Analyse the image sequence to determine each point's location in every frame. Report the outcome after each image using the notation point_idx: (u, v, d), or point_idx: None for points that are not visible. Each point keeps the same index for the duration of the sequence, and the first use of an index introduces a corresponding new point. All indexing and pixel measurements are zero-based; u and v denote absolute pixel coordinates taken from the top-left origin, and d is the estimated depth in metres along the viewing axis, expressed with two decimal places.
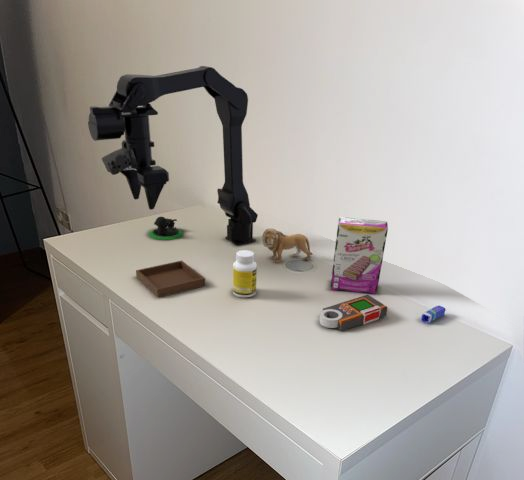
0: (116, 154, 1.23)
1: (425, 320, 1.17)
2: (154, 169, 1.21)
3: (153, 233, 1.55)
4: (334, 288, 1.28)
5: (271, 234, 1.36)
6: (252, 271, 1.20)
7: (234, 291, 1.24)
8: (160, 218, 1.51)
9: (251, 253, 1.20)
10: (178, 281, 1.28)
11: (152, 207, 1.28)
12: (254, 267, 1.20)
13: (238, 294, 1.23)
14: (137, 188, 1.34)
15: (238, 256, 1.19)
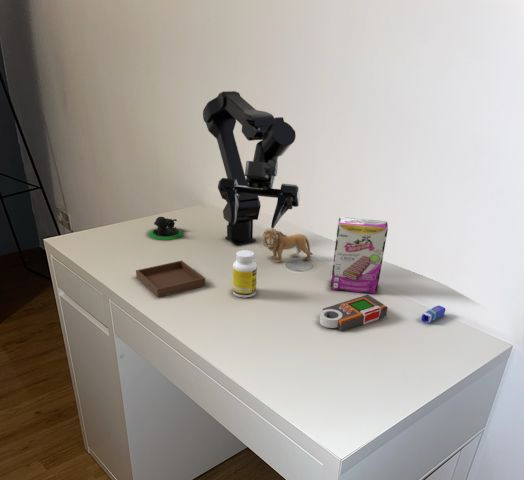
0: None
1: (425, 320, 1.17)
2: None
3: (153, 233, 1.55)
4: (334, 288, 1.28)
5: (271, 234, 1.36)
6: (252, 271, 1.20)
7: (234, 291, 1.24)
8: (160, 218, 1.51)
9: (251, 253, 1.20)
10: (178, 281, 1.28)
11: (274, 226, 1.24)
12: (254, 267, 1.20)
13: (238, 294, 1.23)
14: (235, 214, 1.27)
15: (238, 256, 1.19)
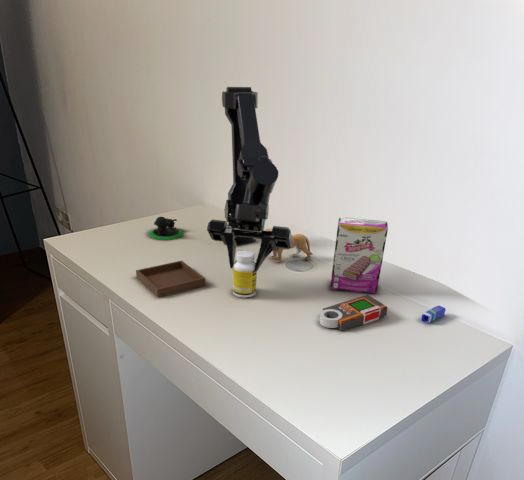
0: None
1: (425, 320, 1.17)
2: None
3: (153, 233, 1.55)
4: (334, 288, 1.28)
5: None
6: (252, 271, 1.20)
7: (234, 291, 1.24)
8: (160, 218, 1.51)
9: (251, 253, 1.20)
10: (178, 281, 1.28)
11: (257, 268, 1.20)
12: (254, 267, 1.20)
13: (238, 294, 1.23)
14: (233, 258, 1.22)
15: (238, 256, 1.19)
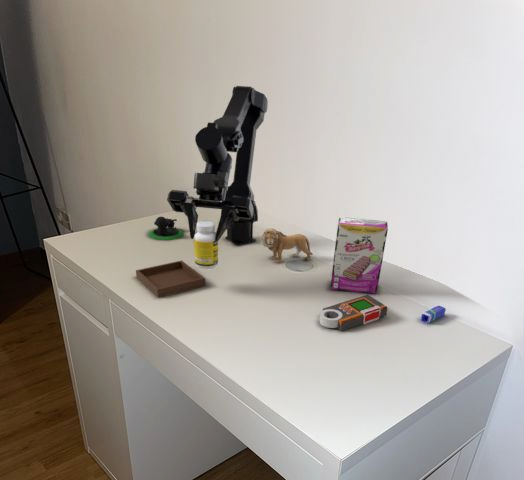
0: None
1: (425, 320, 1.17)
2: None
3: (153, 233, 1.55)
4: (334, 288, 1.28)
5: (271, 234, 1.36)
6: (213, 242, 1.19)
7: (195, 262, 1.23)
8: (160, 218, 1.51)
9: (211, 223, 1.19)
10: (178, 281, 1.28)
11: (218, 239, 1.19)
12: None
13: (199, 265, 1.22)
14: (193, 228, 1.21)
15: (198, 226, 1.18)
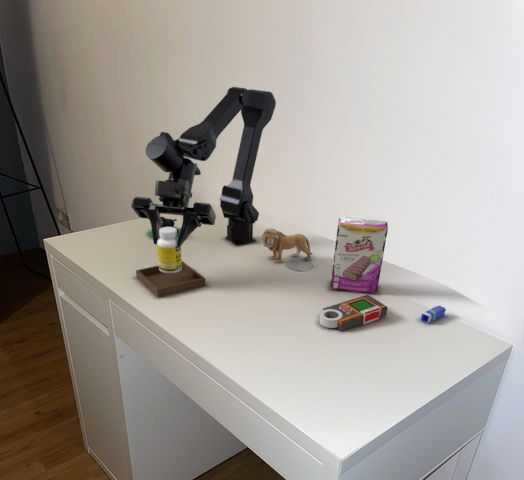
0: None
1: (425, 320, 1.17)
2: None
3: None
4: (334, 288, 1.28)
5: (271, 234, 1.36)
6: (175, 247, 1.23)
7: (159, 267, 1.26)
8: None
9: (174, 229, 1.22)
10: (178, 281, 1.28)
11: (180, 244, 1.23)
12: None
13: (163, 270, 1.25)
14: (157, 234, 1.24)
15: (160, 232, 1.21)
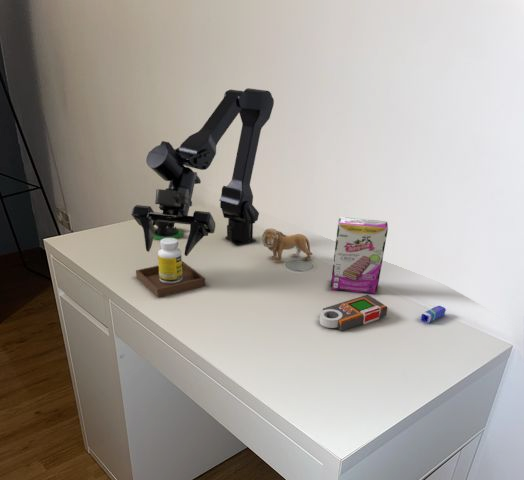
0: None
1: (425, 320, 1.17)
2: None
3: None
4: (334, 288, 1.28)
5: (271, 234, 1.36)
6: (175, 258, 1.24)
7: (160, 278, 1.27)
8: None
9: (175, 240, 1.24)
10: None
11: (187, 253, 1.23)
12: (178, 254, 1.24)
13: (163, 280, 1.27)
14: (150, 241, 1.26)
15: (161, 243, 1.23)
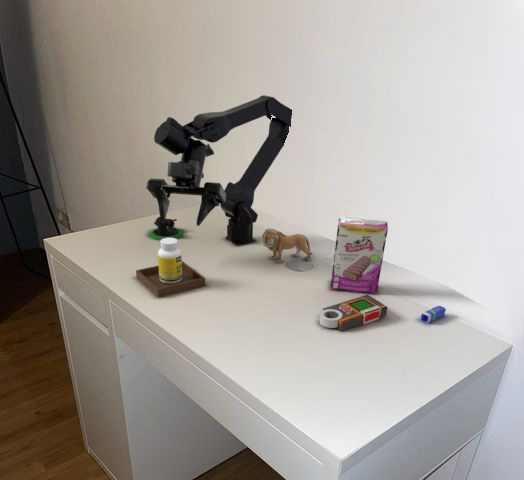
0: None
1: (425, 320, 1.17)
2: None
3: (153, 233, 1.55)
4: (334, 288, 1.28)
5: (271, 234, 1.36)
6: (175, 258, 1.24)
7: (160, 278, 1.27)
8: None
9: (175, 240, 1.24)
10: None
11: (199, 223, 1.29)
12: (178, 254, 1.24)
13: (163, 280, 1.27)
14: (164, 213, 1.32)
15: (161, 243, 1.23)
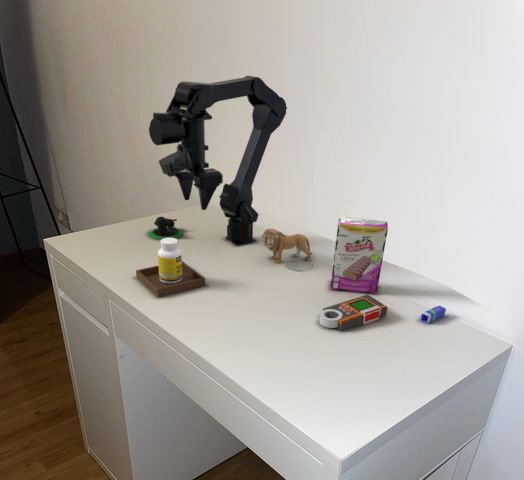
0: (173, 157, 1.29)
1: (424, 320, 1.17)
2: (210, 171, 1.27)
3: (153, 233, 1.55)
4: (334, 288, 1.28)
5: (271, 234, 1.36)
6: (175, 258, 1.24)
7: (160, 278, 1.27)
8: (160, 218, 1.51)
9: (175, 240, 1.24)
10: None
11: (204, 208, 1.34)
12: (178, 254, 1.24)
13: (163, 280, 1.27)
14: (188, 190, 1.40)
15: (161, 243, 1.23)
